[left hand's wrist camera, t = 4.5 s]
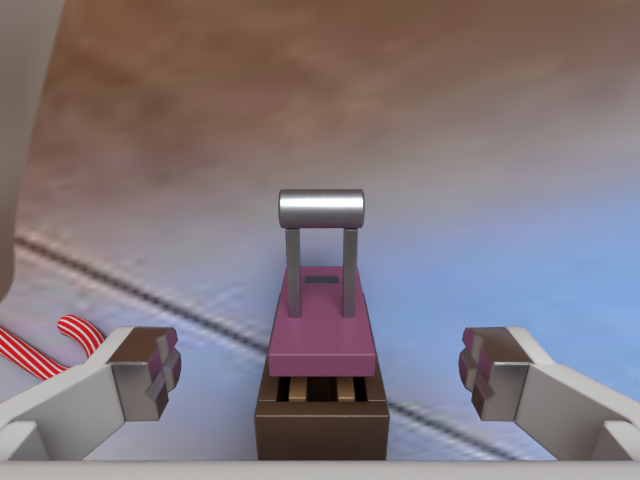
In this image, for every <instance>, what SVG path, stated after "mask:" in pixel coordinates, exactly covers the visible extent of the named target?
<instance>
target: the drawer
mask: <svg viewBox="0 0 640 480" xmlns="http://www.w3.org/2000/svg"><path fill="white" fill-rule="evenodd" d="M364 213H365V202H364V192H363V190H362V189H282V190H280V193H279V223H280V226H281V228H286V230H285V232H286V257H287V267H286V271H285V276H284V281H283V286H282V290H281V295H280V300H279V305H278V310H277V314H276V319H275V324H274V329H273V334H272V338H271V343H270V348H269V353H268V361H269V375H270V376H271V377H291V380H290V389H289V398H288V399H289V402H355V392H354V382H353V377H373V376H374V371H375V350H374V345H373V340H372V335H371V331H370V326H369V321H368V316H367V311H366V306H365V302H364V297H363V292H362V287H361V282H360V277H359V273H358V268H357V239H358V229H357V228H362V227H363V224H364ZM300 228H344V235H343V267H301V264H300Z"/></svg>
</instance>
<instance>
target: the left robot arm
mask: <svg viewBox="0 0 640 480" xmlns="http://www.w3.org/2000/svg"><path fill="white" fill-rule="evenodd" d="M177 341H178V338H177V334H176V330H175V329H174V328H173V327H140V326H138V327H136V326H120V327H117V328H115V329H114V330H113V331H112V333H111V334H110V335H109V336H108V337H107V338H106V339H105V340H104V342H103V343H102V344H101V345H100V346H99V347H98V348H97V349H96V351H95V352H94V353H93V354H92V355H91V356H90V357H89V358H88V360H87V361H86V362H85V363H84V364H77V365H75V366H73V367H71V368H69V369H67V370H65V371H63V372H61V373H59V374H57V375H55V376H53V377H51V378H49V379H47V380H45V381H43V382H41V383H39V384H37V385H35V386H33V387H31V388H29V389H27V390H25V391H23V392H21V393H19V394H17V395H15V396H13V397H11V398H9V399H7V400H5V401H3V402H1V403H0V480H640V403H639V402H637V401H635V400H633V399H631V398H629V397H627V396H625V395H623V394H621V393H619V392H617V391H615V390H613V389H611V388H609V387H607V386H605V385H603V384H601V383H599V382H597V381H595V380H593V379H591V378H589V377H587V376H585V375H583V374H581V373H579V372H577V371H575V370H573V369H571V368H569V367H567V366H565V365H563V364H556V363H555V362H554V361H553V360H552V358H551V357H550V356H549V355H548V354H547V353H546V352H545V351H544V349H543V348H542V347H541V346H540V345H539V344H538V343H537V342H536V340H535V339H534V338H533V337H532V336H531V335H530V334H529V333H528V331H527V330H526V329H525V328H523V327H521V326H509V327H476V328H466V329H465V331H464V333H463V338H462V341H463V342H464V344H465V346H466V348H465V349H464V350H463V351H462V352H461V353H460V356H459V373H460V377H461V380H462V383H463V385H464V387H465V388H466V389H467V390H469V391H470V392H472V393H473V394H472V399H471V401H472V403H473V405H474V407H475V409H476V411H477V413H478V415H479V417H480V419H481V421H511V422H515V424H516V425H517V426H519V427H520V428H521V429H522V430H523V431H525V432H526V433H527V434H528V435H529V436H530V437H532V438H533V439H534V440H535V441H536V442H538V443H539V444H540V445H541V446H542V447H543V448H545V449H546V450H547V451H548V452H549V453H551V454H552V455H553V456H554V457H555V458H557V459H558V460H551V461H386V460H358V461H81V460H82V459H84V458H85V457H86V456H87V455H88V454H90V453H91V452H92V451H93V450H94V449H95V448H97V447H98V446H99V445H100V444H101V443H103V442H104V441H105V440H106V439H107V438H109V437H110V436H111V435H112V434H113V433H114V432H116V431H117V430H118V429H119V428H120V427H122V426H123V425H124V424H125V422H129V421H159V419H160V417H161V415H162V413H163V411H164V409H165V407H166V405H167V403H168V401H169V399H168V394H167V393H168V392H170V391H171V390H173V389H174V388H175V387H176V385H177V383H178V380H179V377H180V372H181V356H180V353H179V352H178V351H177V350H176V349H175V348H174V346H175V344H176V342H177Z"/></svg>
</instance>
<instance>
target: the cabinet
mask: <svg viewBox="0 0 640 480" xmlns="http://www.w3.org/2000/svg"><path fill="white" fill-rule="evenodd" d="M280 295H281V293H280ZM363 297H364V302H365V306H366V311H367V316H368V321H369V326H370V331H371V335H372V340H373V345H374V350H375V371H374V376H373V377H353V382H354V392H355V402H289V399H288V398H289V389H290V380H291V377H271V376H270V375H269V361H268V353H269V348H270V343H271V338H272V334H273V329H274V324H275V319H276V314H277V310H278V305H279V300H280V296H279V300H278V305H277V309H276V314H275V319H274V323H273V328H272V333H271V338H270V342H269V347H268V352H267V356H266V361H265V366H264V370H263V375H262V380H261V384H260V389H259V394H258V399H257V404H256V409H255V414H254V422H255V433H256V444H257V455H258V461H358V460H386V455H387V444H388V432H389V420H390V415H389V410H388V405H387V399H386V395H385V390H384V385H383V381H382V376H381V371H380V366H379V362H378V357H377V352H376V348H375V343H374V338H373V333H372V329H371V324H370V319H369V315H368V310H367V305H366V301H365V296H364V293H363Z"/></svg>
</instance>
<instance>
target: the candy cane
mask: <svg viewBox="0 0 640 480" xmlns="http://www.w3.org/2000/svg"><path fill="white" fill-rule="evenodd" d="M57 327H58V330H59V332H60V333H61V334H63V335H65V336H68V337H70V338H72V339H74V340H75V341H77V342H78V343H79V344H80V345H81V346H82V347H83V349H84V350H85V352H86V354H87V360H88V358H89V357H90V356H91V355H92V354H93V353H94V352H95V351H96V349H97V348H98V347H99V346H100V345H101V344H102V343H103V342H104V340H105V338H104V336H103V335H102V333H101V332H100V331H99V330H98V329H97V328H96V327H95V326H94V325H92V324H91V323H89V322H88V321H86V320H84V319H82V318H80V317H77V316H75V315H66V316H63V317H62V318H61V319H60V320H59V321H58V324H57ZM0 355H1V356H3V357H5V358H6V359H8V360H9V361H11V362H13V363H14V364H16V365H18V366H19V367H21V368H22V369H24V370H26V371H27V372H29V373H31V374H32V375H34V376H35V377H37V378H39V379H40V380H42V381H45V380H47V379H49V378H51V377H53V376H55V375H57V374H59V373H61V372H63V371H65V370H67V369H69V368H71V367H66V366H63V365H61V364H59V363H57V362H55V361H54V360H52V359H51V358H49V357H47V356H46V355H44V354H43V353H41V352H40V351H38V350H36V349H35V348H33V347H32V346H30V345H29V344H27V343H25V342H24V341H22V340H21V339H19V338H18V337H16V336H14V335H13V334H11V333H10V332H8V331H7V330H5V329H3V328H2V327H0Z"/></svg>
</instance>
